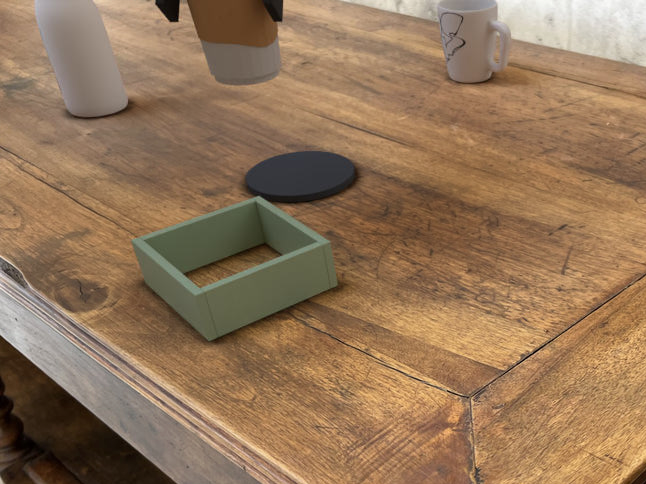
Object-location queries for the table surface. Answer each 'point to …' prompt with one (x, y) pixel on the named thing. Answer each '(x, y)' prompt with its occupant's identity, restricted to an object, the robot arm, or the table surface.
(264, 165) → the slate mat
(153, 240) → the frame
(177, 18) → the robot arm
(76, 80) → the milk bottle
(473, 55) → the mug
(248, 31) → the coffee cup
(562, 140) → the table surface
